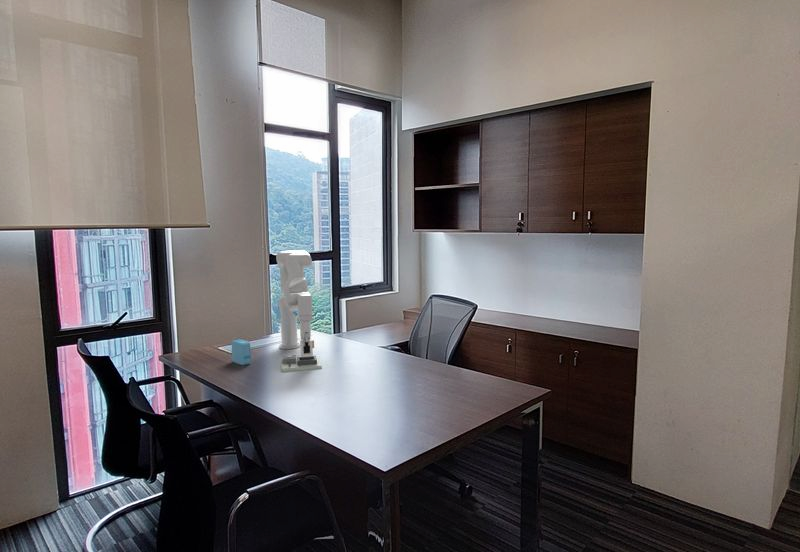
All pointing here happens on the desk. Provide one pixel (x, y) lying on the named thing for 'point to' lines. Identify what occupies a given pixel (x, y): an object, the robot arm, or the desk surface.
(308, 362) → the board
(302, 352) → the plug
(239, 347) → the data package
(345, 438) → the desk surface
